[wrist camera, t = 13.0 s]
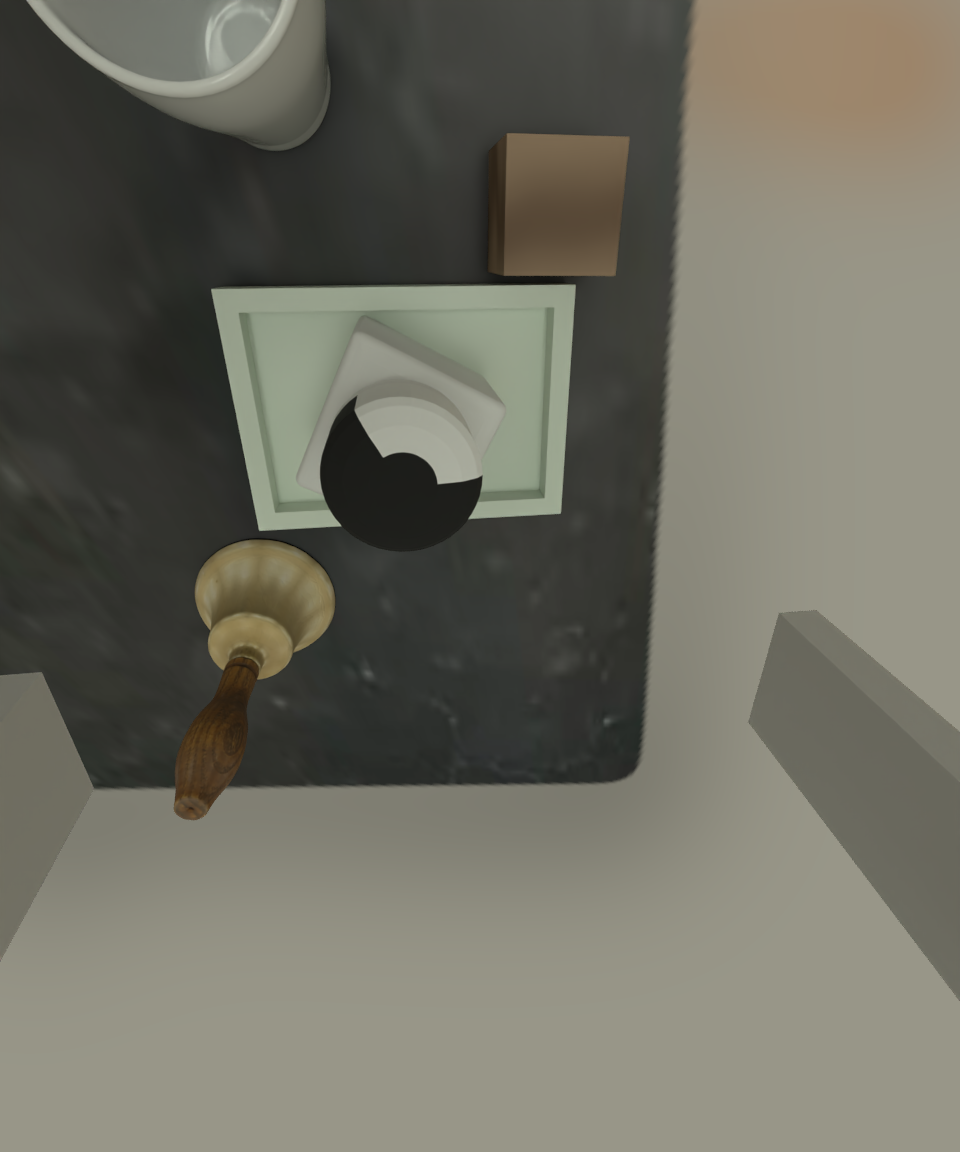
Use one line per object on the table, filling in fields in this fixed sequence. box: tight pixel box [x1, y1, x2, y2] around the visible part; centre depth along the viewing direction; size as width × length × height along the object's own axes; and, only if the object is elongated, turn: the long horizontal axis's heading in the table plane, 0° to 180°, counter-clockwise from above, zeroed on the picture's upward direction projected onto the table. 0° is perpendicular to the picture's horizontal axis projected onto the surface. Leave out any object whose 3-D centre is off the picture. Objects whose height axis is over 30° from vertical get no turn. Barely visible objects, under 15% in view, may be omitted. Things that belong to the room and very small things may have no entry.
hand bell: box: [174, 540, 335, 820], centre depth 30 cm, size 8×8×16 cm
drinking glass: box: [26, 0, 330, 151], centre depth 19 cm, size 7×7×15 cm
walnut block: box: [488, 133, 630, 276], centre depth 27 cm, size 5×5×5 cm
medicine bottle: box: [296, 315, 506, 551], centre depth 27 cm, size 7×7×12 cm
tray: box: [211, 283, 576, 531], centre depth 32 cm, size 12×17×2 cm
